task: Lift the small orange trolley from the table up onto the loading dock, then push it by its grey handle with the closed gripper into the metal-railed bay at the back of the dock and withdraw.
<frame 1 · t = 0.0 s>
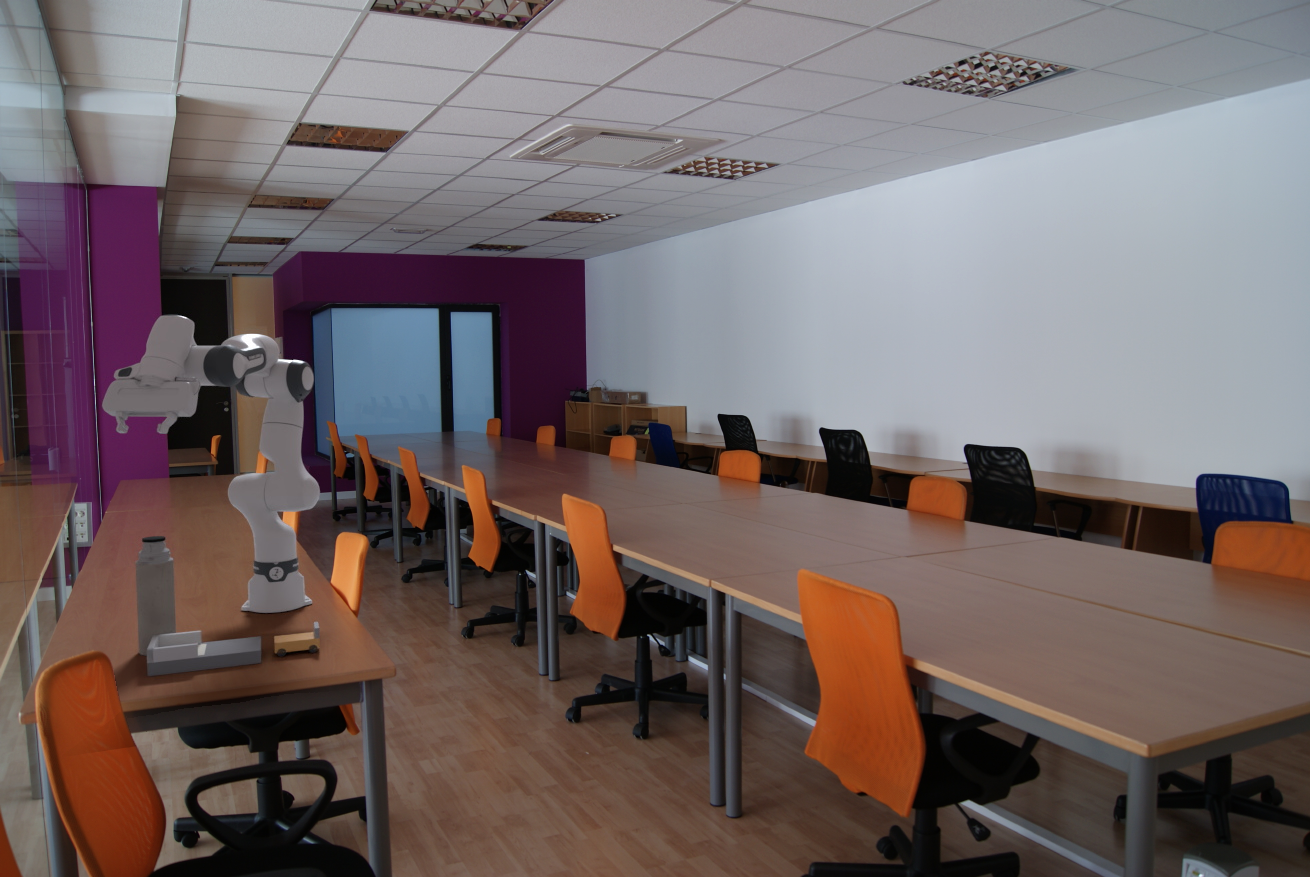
hand: (141, 432, 192), 54 cm above the table, tool tilted 30°, fingers open, 8 cm apart
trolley: (297, 651, 211), on the table
dock: (207, 661, 203), on the table
thermos bottle: (158, 651, 211), on the table
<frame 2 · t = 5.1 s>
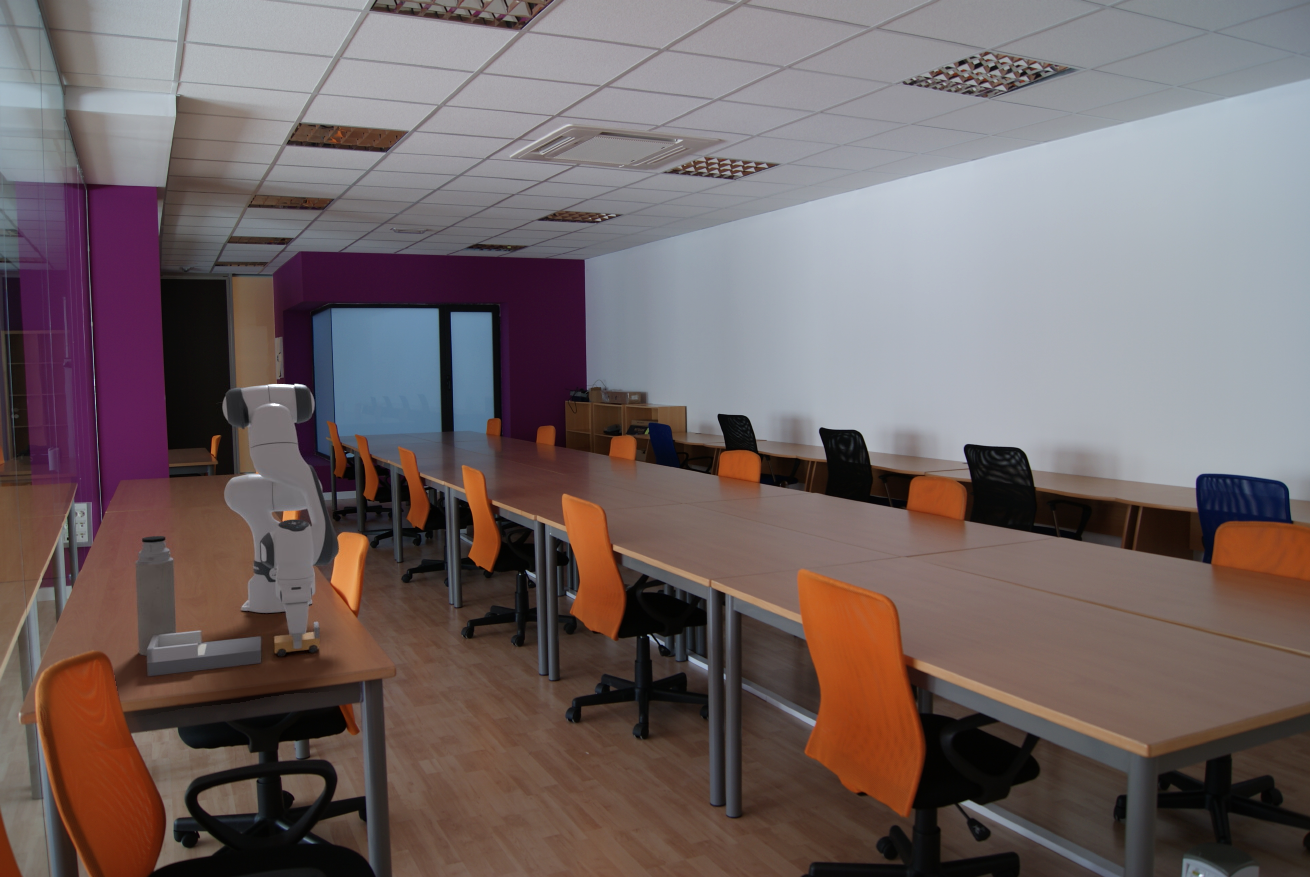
hand: (296, 643, 211), 2 cm above the table, tool pointing down, fingers closed on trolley, 6 cm apart
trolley: (297, 651, 211), on the table, touching gripper
everything else where it was.
when the fingers open (6 cm above the table, at t = 10.0 s): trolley drops 1 cm, resting on dock.
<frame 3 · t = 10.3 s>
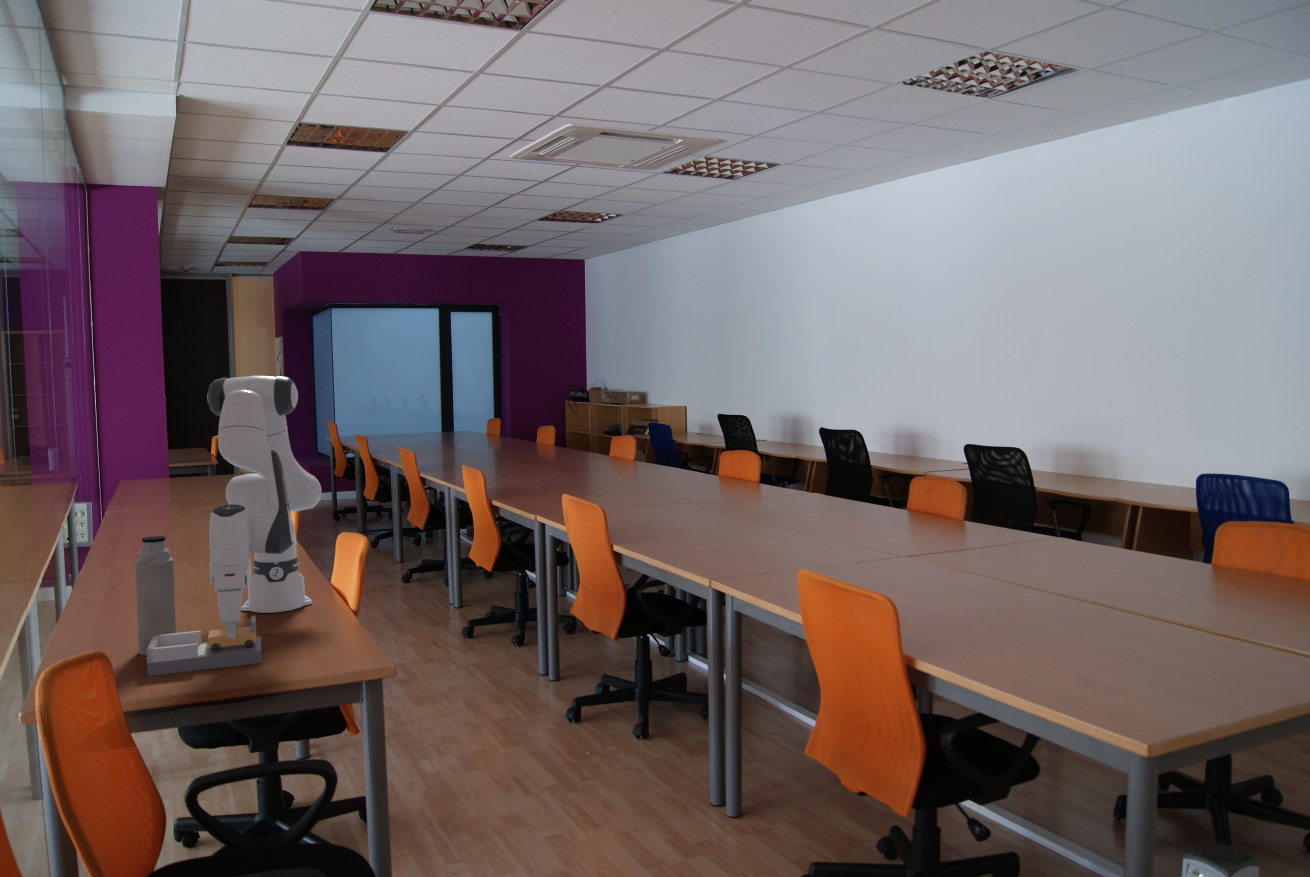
hand: (232, 632, 205), 6 cm above the table, tool pointing down, fingers open, 8 cm apart
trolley: (233, 646, 205), point 3 cm above the table, touching dock
everything else where it was.
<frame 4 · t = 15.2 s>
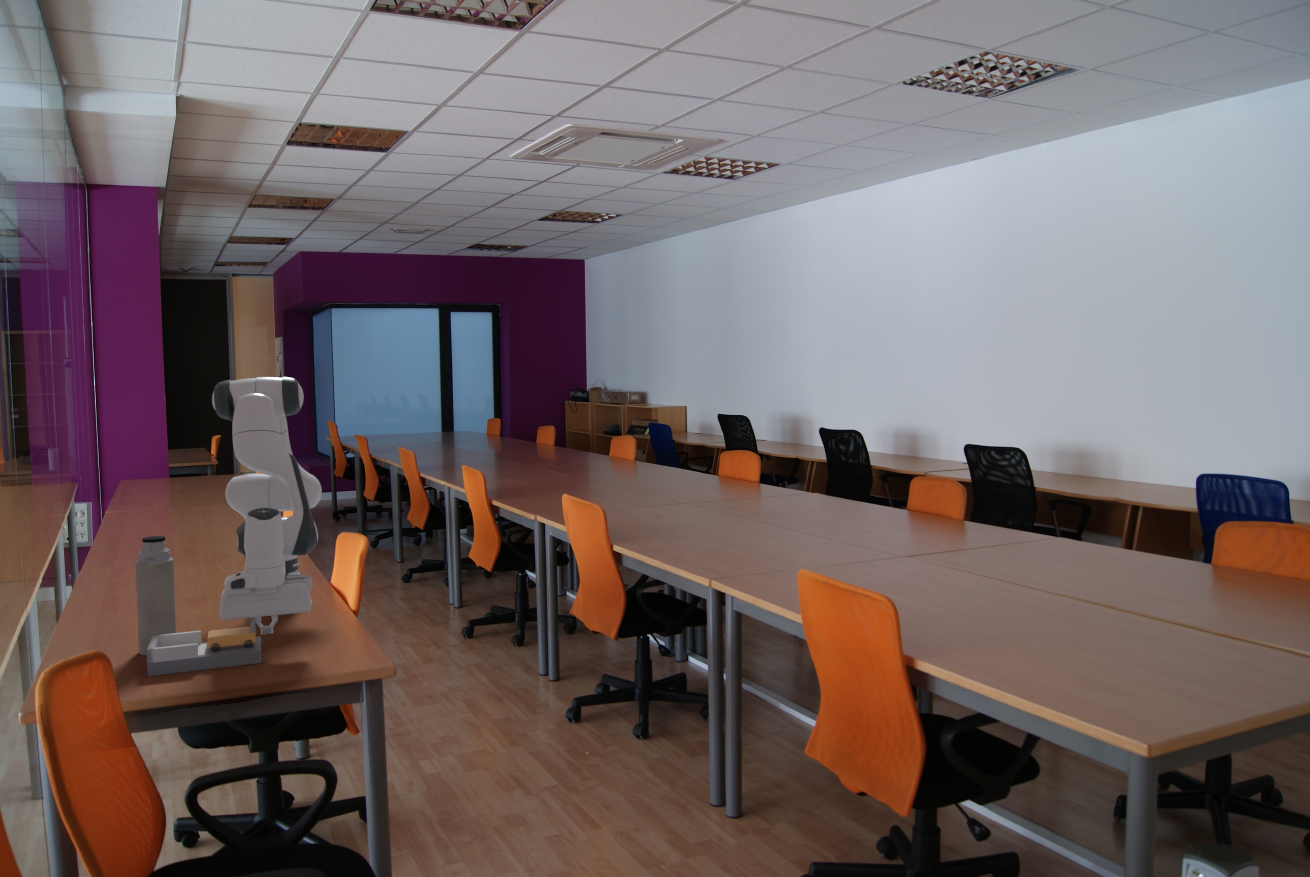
hand: (266, 633, 208), 5 cm above the table, tool pointing down, fingers closed
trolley: (232, 646, 205), point 3 cm above the table, touching gripper
everything else where it was.
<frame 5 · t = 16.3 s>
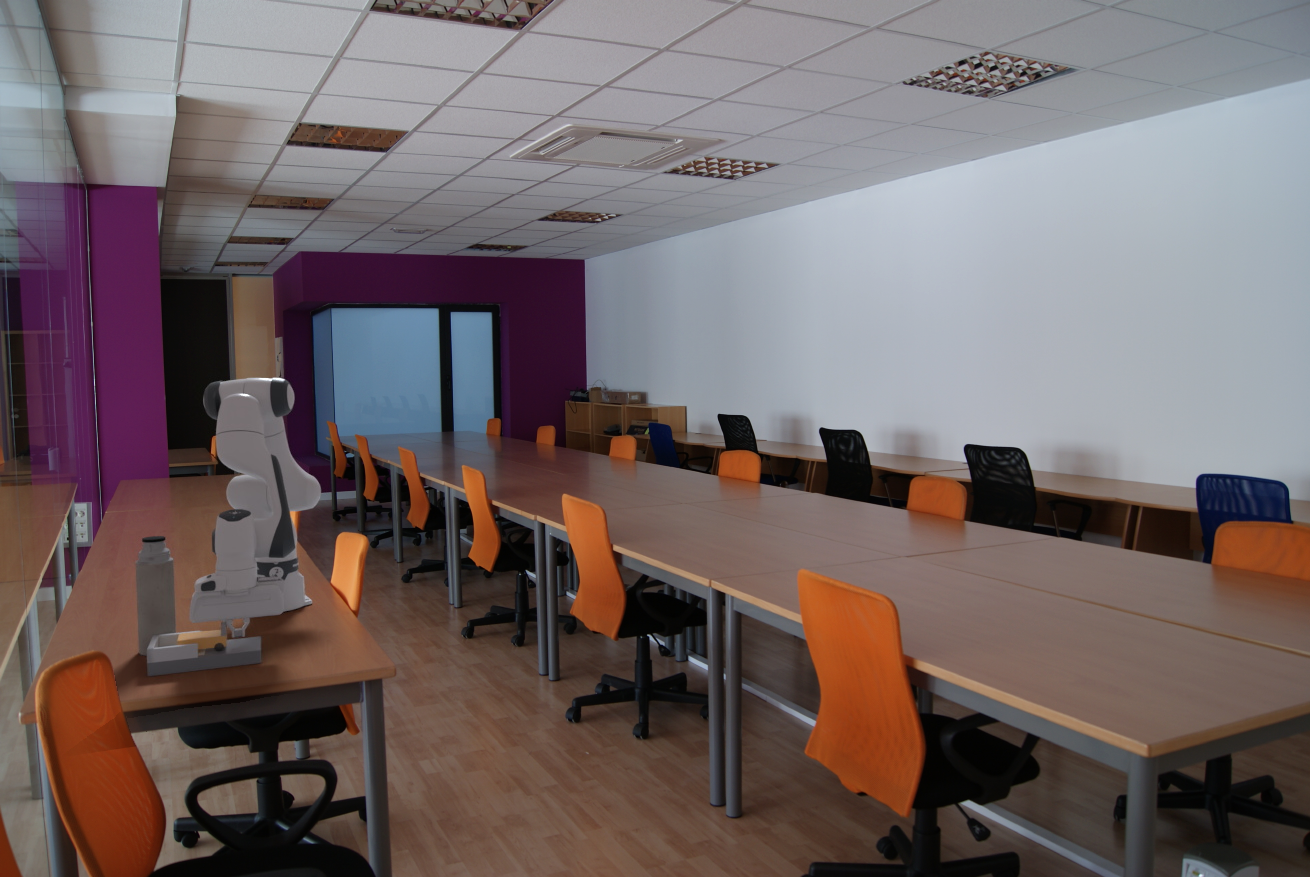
hand: (238, 636, 205), 5 cm above the table, tool pointing down, fingers closed
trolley: (202, 649, 202), point 3 cm above the table, touching gripper
everything else where it was.
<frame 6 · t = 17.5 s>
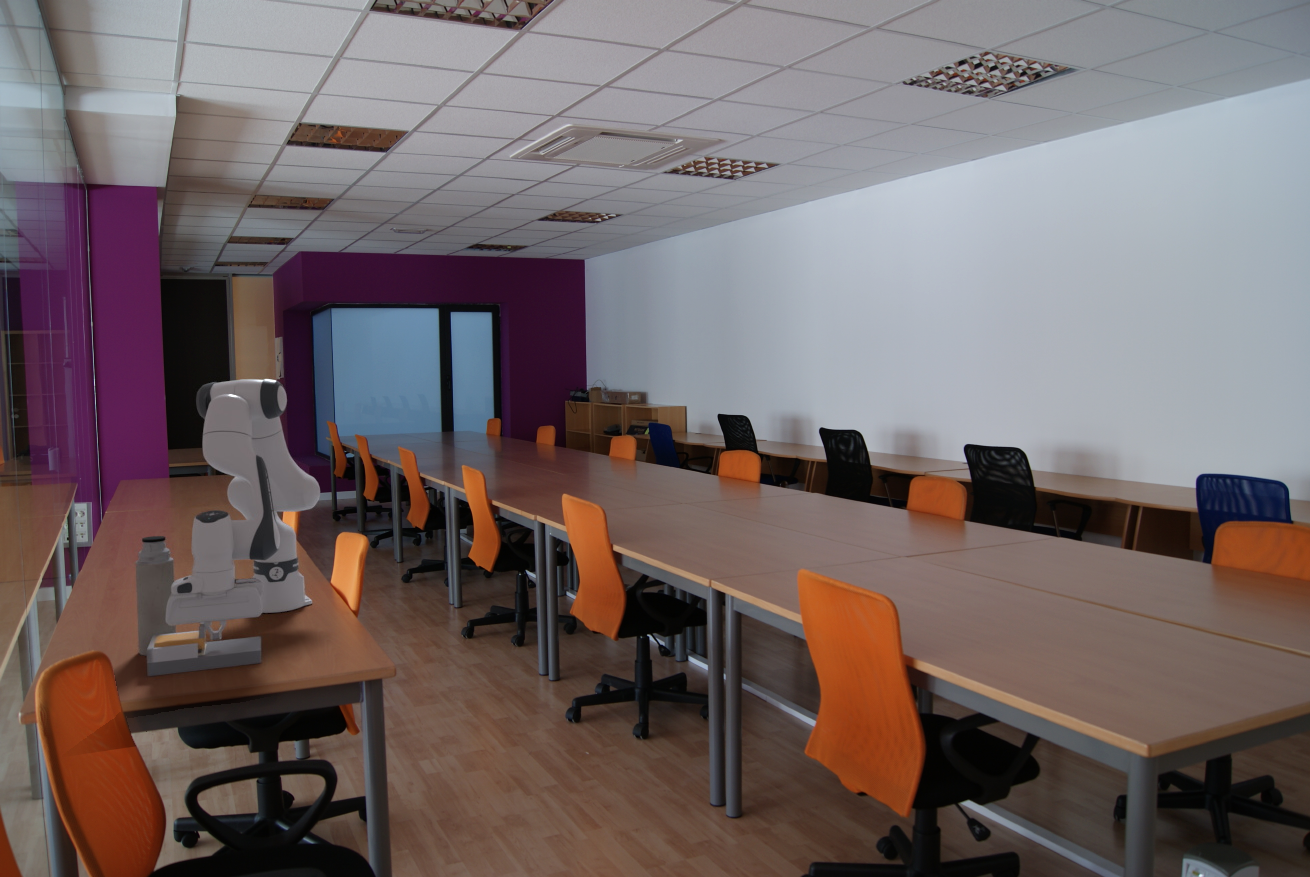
hand: (215, 639, 203), 5 cm above the table, tool pointing down, fingers closed
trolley: (181, 651, 200), point 3 cm above the table, touching dock, gripper
everything else where it was.
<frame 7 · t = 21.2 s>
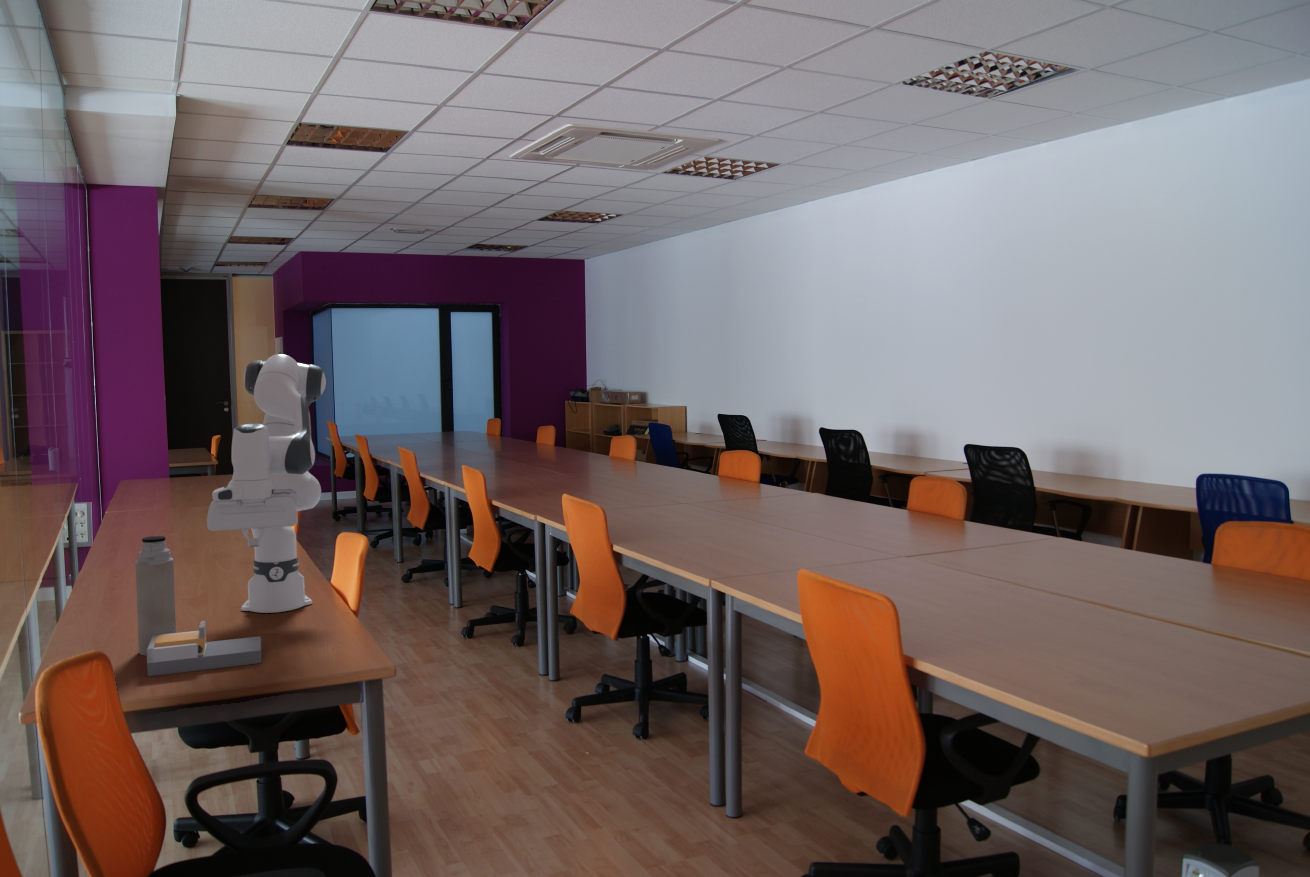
hand: (254, 546, 213), 25 cm above the table, tool pointing down, fingers closed
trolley: (181, 651, 201), point 3 cm above the table, touching dock
everything else where it was.
at the end: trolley 0.1 cm from the target spot, point 3.0 cm above the table; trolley tilted 0°; the gripper is holding nothing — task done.
